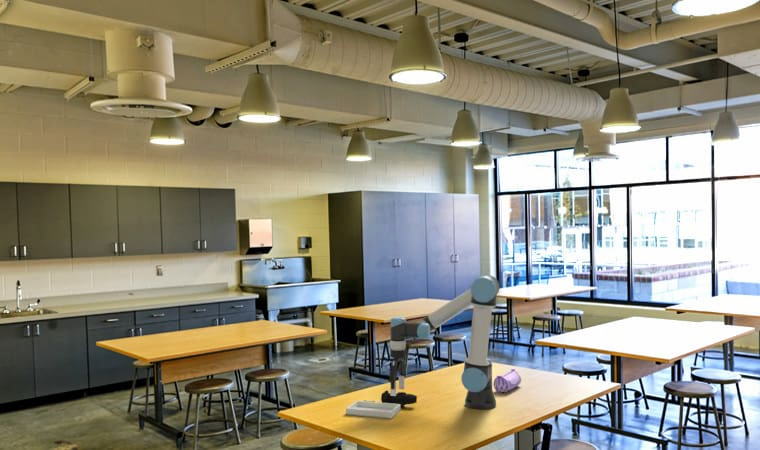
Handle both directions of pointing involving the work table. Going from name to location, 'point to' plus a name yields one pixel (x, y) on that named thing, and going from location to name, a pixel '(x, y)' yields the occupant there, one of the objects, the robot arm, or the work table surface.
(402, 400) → the night vision scope
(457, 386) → the work table surface
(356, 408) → the tray
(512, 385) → the pencil case
